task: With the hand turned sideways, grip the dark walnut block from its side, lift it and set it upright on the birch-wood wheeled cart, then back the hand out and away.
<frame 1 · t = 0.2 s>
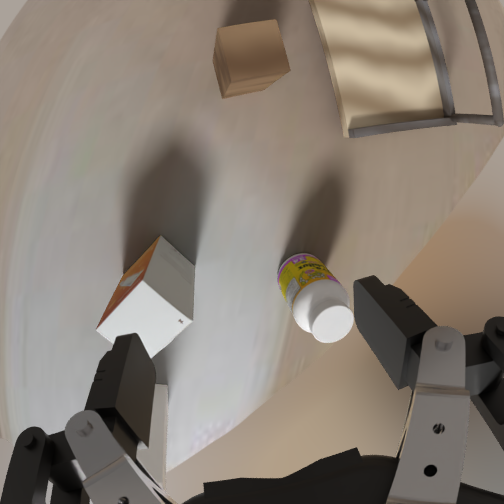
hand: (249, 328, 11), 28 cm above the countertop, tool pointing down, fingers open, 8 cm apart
small box: (158, 270, 40), on the countertop
milk: (150, 394, 47), on the countertop
supplement bottle: (299, 273, 43), on the countertop
cart: (376, 59, 34), on the countertop
walnut block: (238, 75, 33), on the countertop
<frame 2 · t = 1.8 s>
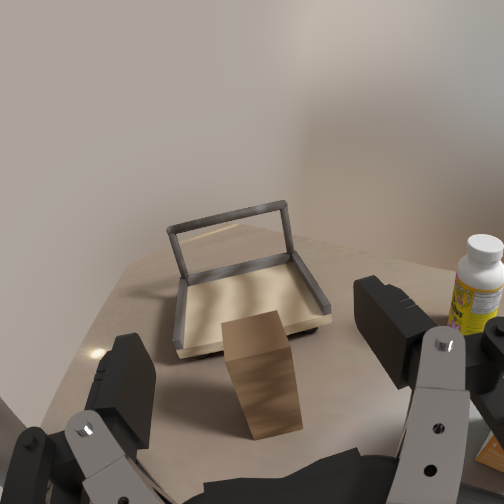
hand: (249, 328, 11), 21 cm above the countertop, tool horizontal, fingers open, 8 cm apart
supplement bottle: (468, 332, 33), on the countertop
cart: (250, 317, 47), on the countertop
walnut block: (274, 416, 30), on the countertop
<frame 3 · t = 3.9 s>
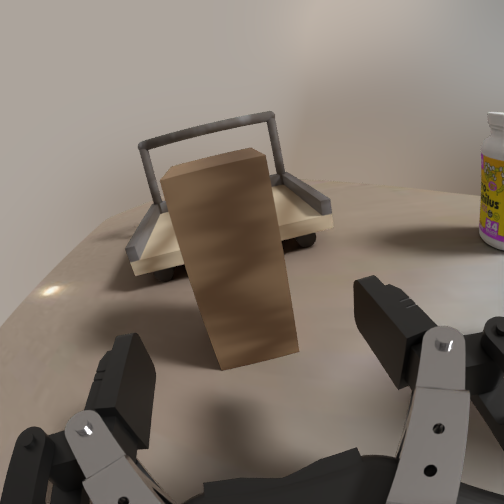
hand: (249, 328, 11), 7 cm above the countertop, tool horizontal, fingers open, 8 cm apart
cart: (231, 239, 38), on the countertop
walnut block: (254, 337, 21), on the countertop
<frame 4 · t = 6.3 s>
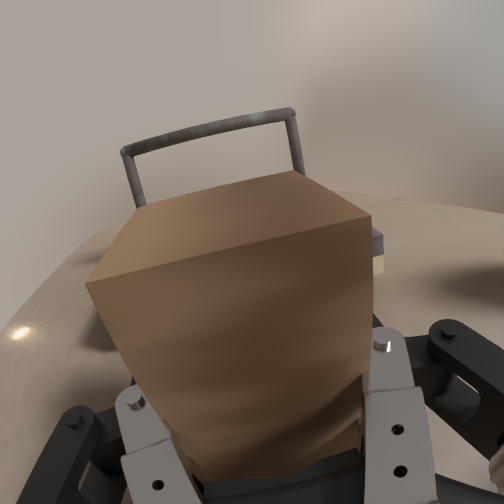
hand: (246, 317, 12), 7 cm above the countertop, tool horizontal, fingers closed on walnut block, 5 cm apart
cart: (240, 277, 29), on the countertop
walnut block: (285, 462, 12), on the countertop, touching gripper
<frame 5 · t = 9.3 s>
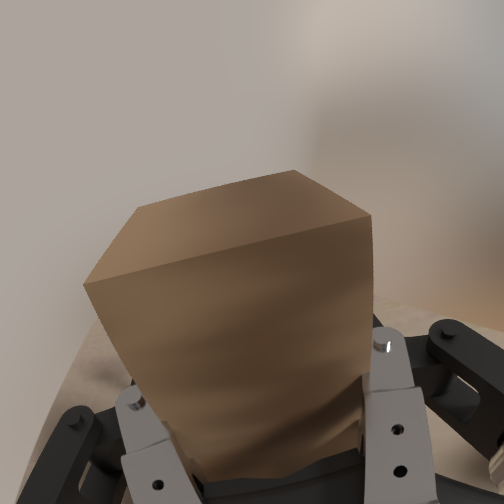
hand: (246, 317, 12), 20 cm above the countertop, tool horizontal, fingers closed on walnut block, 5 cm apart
walnut block: (285, 462, 12), point 13 cm above the countertop, touching gripper
when the fingers open (12 cm above the countertop, at t = 12.3 s): walnut block drops 1 cm, resting on cart.
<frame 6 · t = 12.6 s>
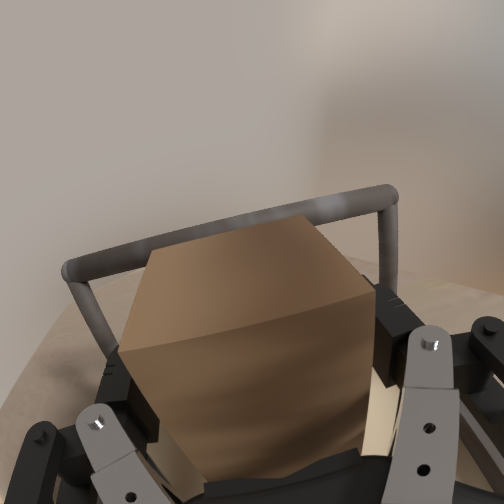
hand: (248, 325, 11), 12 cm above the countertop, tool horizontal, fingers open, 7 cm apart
cart: (294, 494, 14), on the countertop
walnut block: (289, 474, 13), point 3 cm above the countertop, touching cart
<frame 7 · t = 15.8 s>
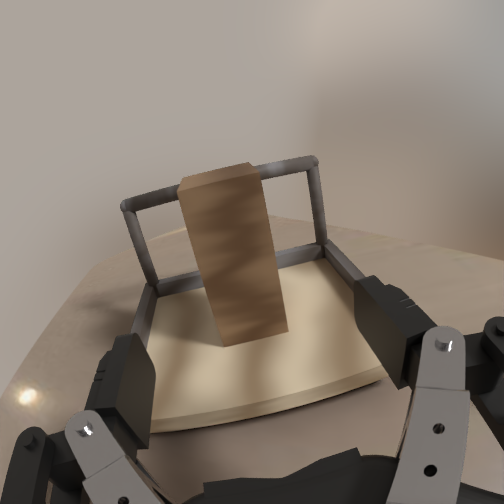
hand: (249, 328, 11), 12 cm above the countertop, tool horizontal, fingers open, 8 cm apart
cart: (259, 351, 27), on the countertop
walnut block: (251, 321, 25), point 3 cm above the countertop, touching cart
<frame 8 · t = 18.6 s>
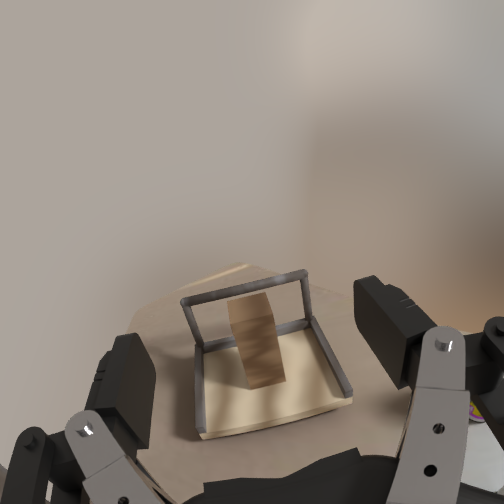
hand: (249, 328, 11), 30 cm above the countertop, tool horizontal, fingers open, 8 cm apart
cart: (269, 388, 44), on the countertop
walnut block: (265, 373, 43), point 3 cm above the countertop, touching cart
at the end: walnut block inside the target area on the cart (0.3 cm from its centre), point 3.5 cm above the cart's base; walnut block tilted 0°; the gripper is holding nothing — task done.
